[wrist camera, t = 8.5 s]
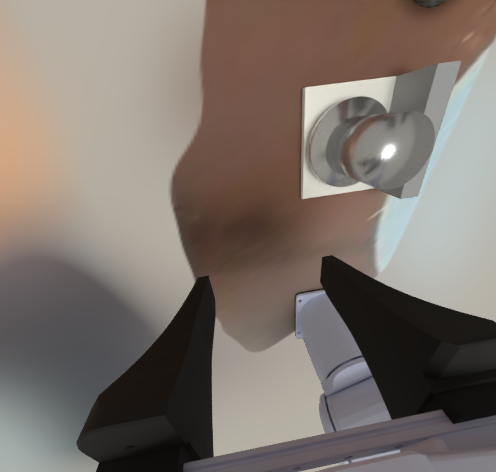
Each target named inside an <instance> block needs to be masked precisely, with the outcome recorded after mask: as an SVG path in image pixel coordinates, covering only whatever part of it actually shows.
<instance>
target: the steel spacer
mask: <svg viewBox="0 0 496 472" xmlns="http://www.w3.org/2000/svg"><path fill="white" fill-rule="evenodd" d="M434 141H435V130H434V126H433V123H432V121H431V120H430V118H429V117H428V116H427V115H425V114H424V113H421V112H417V111H407V112H396V113H385V114H374V115H364V116H354V117H350V118H348V119H346V120H344V121H343V122H341V123H340V124H339V125H338V126H337V127H336V128H335V129H334V130H333V132H332V133H331V135H330V137H329V139H328V142H327V146H326V160H327V163H328V165H329V167H330V168H331V169H332V170H333V171H335V172H336V173H339V174H341V175H344V176H347V177H349V178H352V179H354V180H357V181H360V182H362V183H365V184H367V185H370V186H373V187H375V188H378V189H383V190H387V189H393V188H397V187H399V186H401V185H403V184H405V183H407V182H408V181H410V180H411V179H412V178H413V177H414V176H416V175H417V174H418V172H419V171H420V170H421V169H422V168H423V166H424V165H425V164H426V162H427V160H428V158H429V157H430V154H431V152H432V149H433V146H434Z"/></svg>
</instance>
